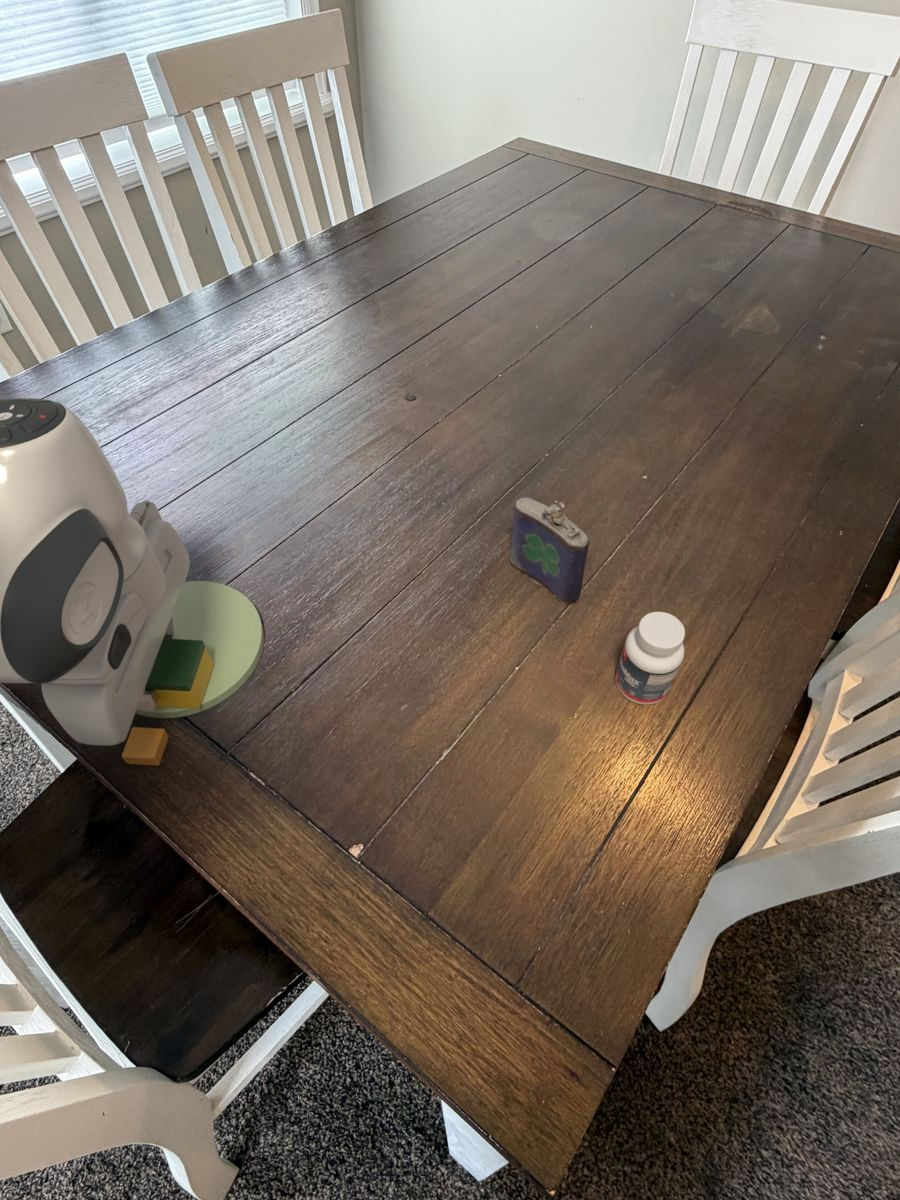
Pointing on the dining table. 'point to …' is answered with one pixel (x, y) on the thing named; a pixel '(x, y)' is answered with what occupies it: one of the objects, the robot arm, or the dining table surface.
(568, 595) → the flask
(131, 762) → the orange square block
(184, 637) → the plate
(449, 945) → the dining table surface
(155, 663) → the sponge
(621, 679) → the pill bottle
